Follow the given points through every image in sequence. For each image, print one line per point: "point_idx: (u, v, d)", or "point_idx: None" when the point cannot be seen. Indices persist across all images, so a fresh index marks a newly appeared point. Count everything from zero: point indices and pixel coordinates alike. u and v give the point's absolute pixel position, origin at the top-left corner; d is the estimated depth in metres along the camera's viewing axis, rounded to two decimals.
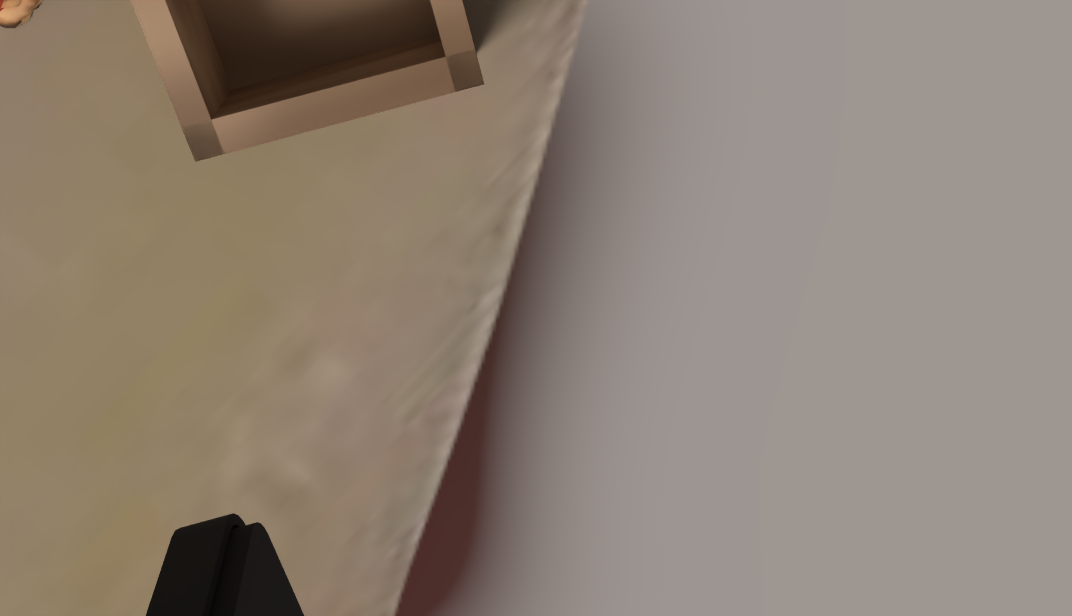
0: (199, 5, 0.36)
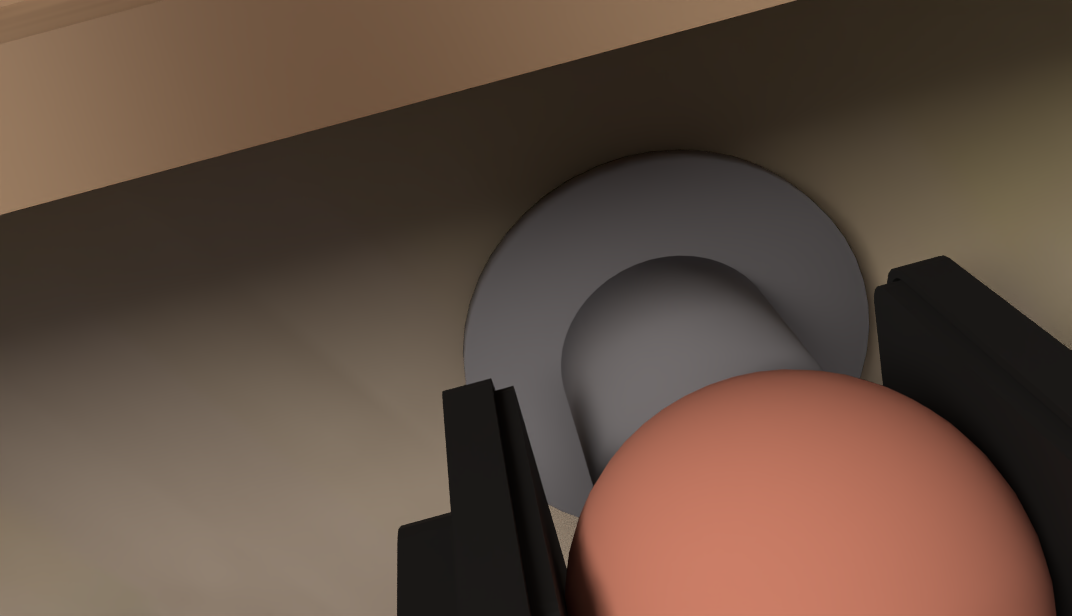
0: None
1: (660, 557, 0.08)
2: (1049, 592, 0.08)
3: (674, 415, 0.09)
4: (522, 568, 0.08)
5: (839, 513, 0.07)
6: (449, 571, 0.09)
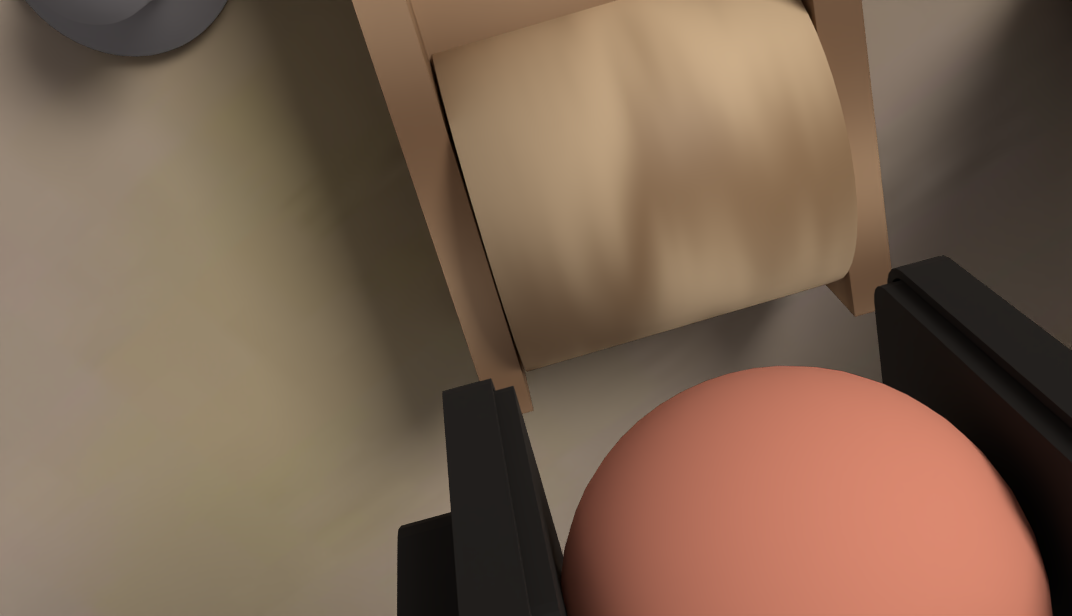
0: None
1: (655, 552, 0.07)
2: (1045, 589, 0.08)
3: (670, 411, 0.08)
4: (522, 568, 0.08)
5: (834, 508, 0.07)
6: (449, 572, 0.09)
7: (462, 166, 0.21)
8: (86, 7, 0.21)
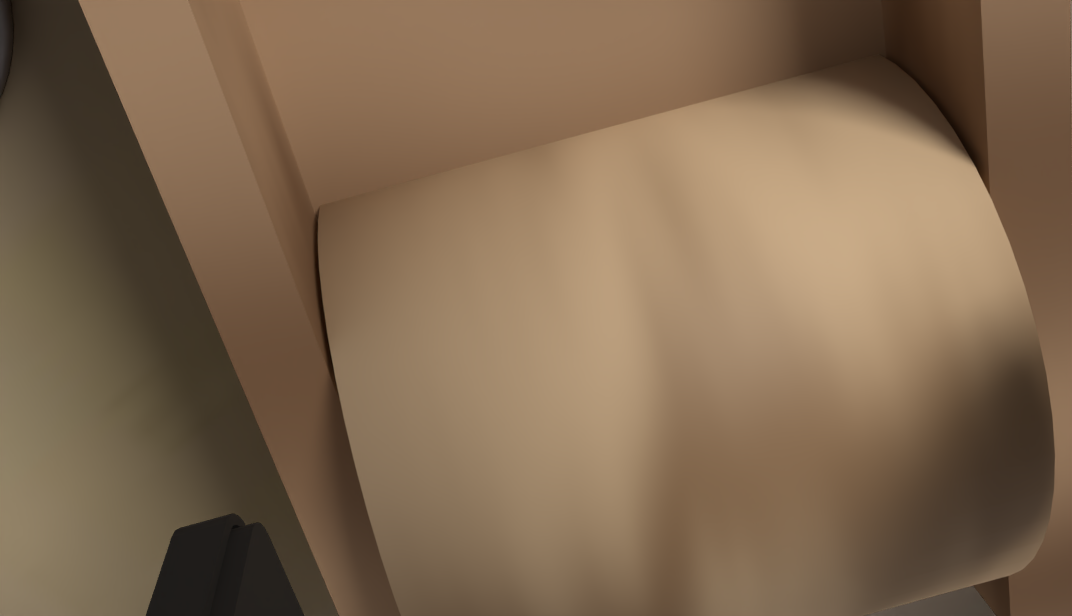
0: None
1: None
2: None
3: None
4: None
5: None
6: None
7: (349, 433, 0.12)
8: None
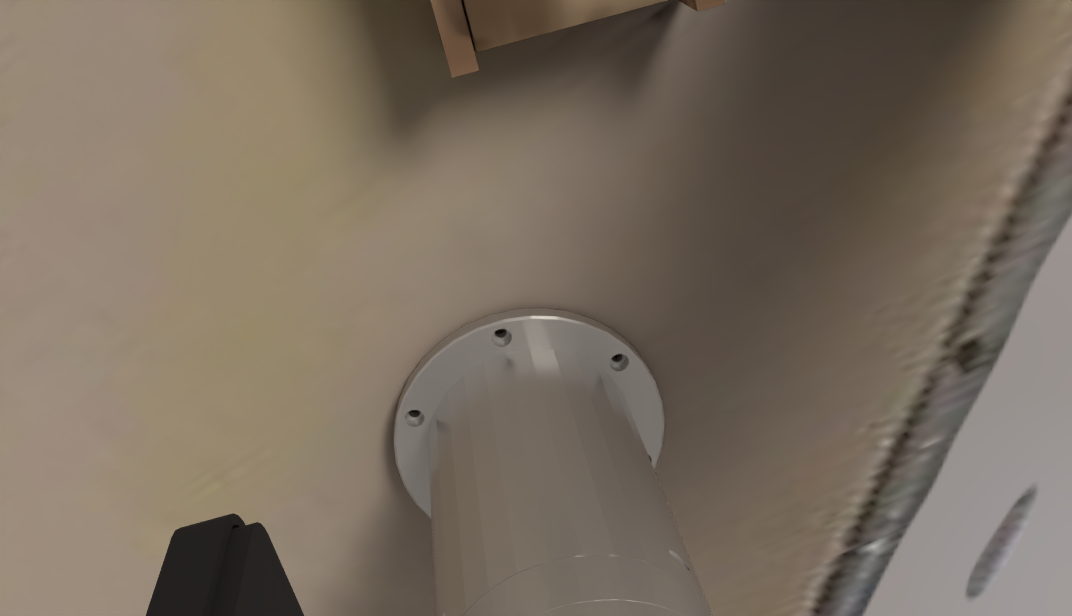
0: None
1: None
2: None
3: None
4: None
5: None
6: None
7: None
8: None
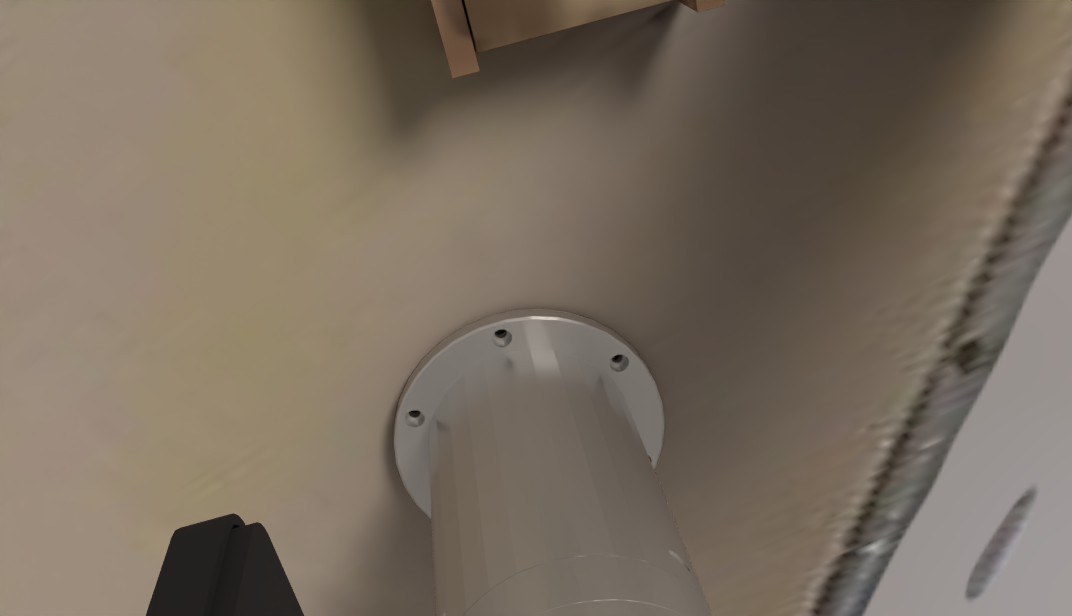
0: None
1: None
2: None
3: None
4: None
5: None
6: None
7: None
8: None
